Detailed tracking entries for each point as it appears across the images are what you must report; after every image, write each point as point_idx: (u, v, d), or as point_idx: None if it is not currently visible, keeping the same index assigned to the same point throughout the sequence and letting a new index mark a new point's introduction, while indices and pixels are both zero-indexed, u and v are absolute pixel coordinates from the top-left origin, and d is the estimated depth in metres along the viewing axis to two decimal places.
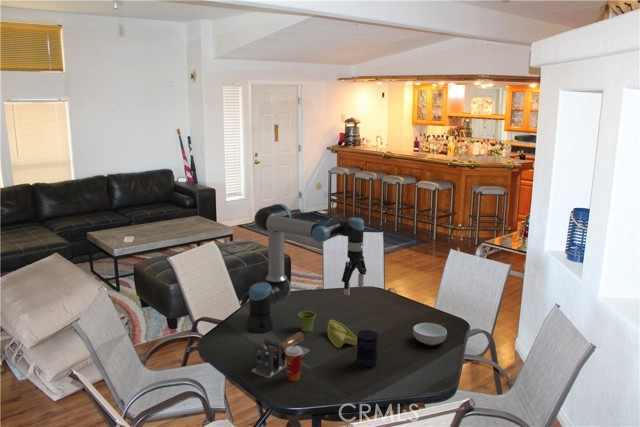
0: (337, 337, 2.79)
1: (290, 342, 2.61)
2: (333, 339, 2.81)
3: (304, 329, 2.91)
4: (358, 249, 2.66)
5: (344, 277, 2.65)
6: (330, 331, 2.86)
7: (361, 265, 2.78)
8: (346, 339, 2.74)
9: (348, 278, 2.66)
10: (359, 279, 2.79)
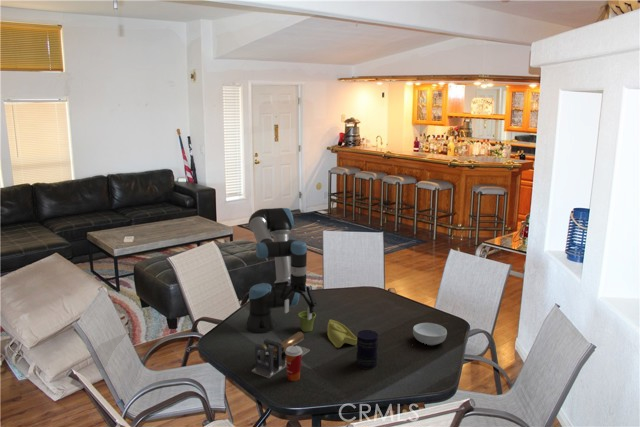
0: (337, 337, 2.79)
1: (290, 342, 2.61)
2: (333, 339, 2.81)
3: (304, 329, 2.91)
4: (291, 272, 2.60)
5: None
6: (330, 331, 2.86)
7: None
8: (346, 339, 2.74)
9: (284, 296, 2.68)
10: None
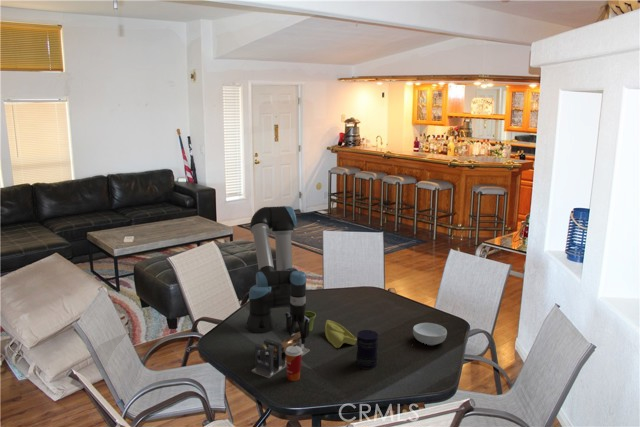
0: (335, 337, 2.79)
1: (290, 342, 2.61)
2: (331, 339, 2.80)
3: None
4: (290, 302, 2.64)
5: None
6: (328, 331, 2.85)
7: None
8: (345, 339, 2.74)
9: (290, 330, 2.70)
10: None
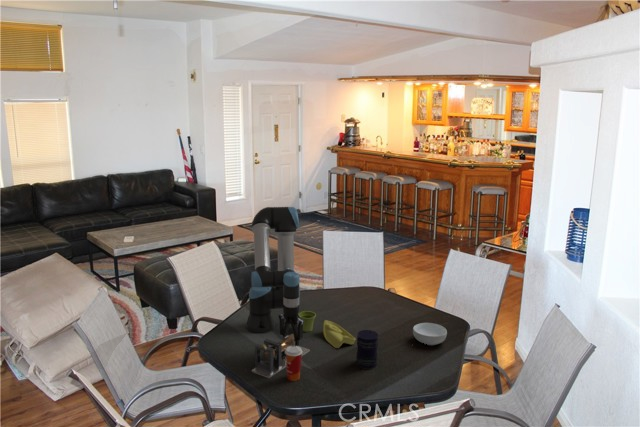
0: (334, 337, 2.79)
1: (283, 345, 2.57)
2: (330, 339, 2.80)
3: (304, 329, 2.91)
4: (283, 303, 2.59)
5: None
6: (326, 332, 2.85)
7: None
8: (345, 339, 2.74)
9: (283, 332, 2.65)
10: None
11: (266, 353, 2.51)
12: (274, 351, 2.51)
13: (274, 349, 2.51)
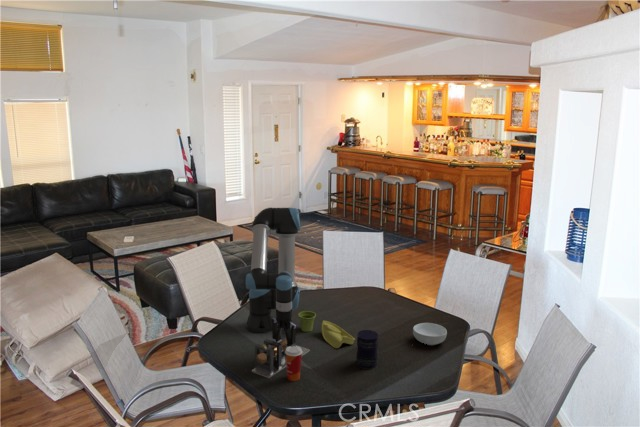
0: (334, 337, 2.79)
1: (275, 349, 2.52)
2: (329, 340, 2.80)
3: (304, 329, 2.91)
4: (276, 307, 2.55)
5: None
6: (325, 332, 2.84)
7: None
8: (344, 339, 2.74)
9: (276, 336, 2.61)
10: None
11: (258, 358, 2.47)
12: (266, 356, 2.46)
13: (266, 354, 2.47)
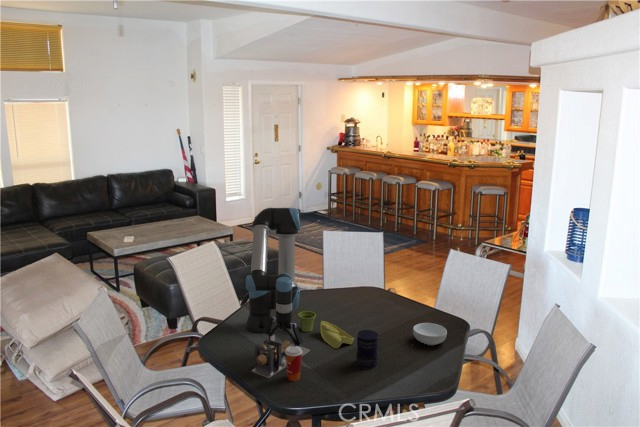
0: (333, 338, 2.78)
1: (275, 351, 2.52)
2: (329, 340, 2.79)
3: (304, 329, 2.91)
4: (276, 309, 2.55)
5: None
6: (323, 332, 2.84)
7: None
8: (344, 339, 2.74)
9: (270, 332, 2.62)
10: None
11: (258, 360, 2.47)
12: (266, 358, 2.47)
13: (266, 356, 2.47)
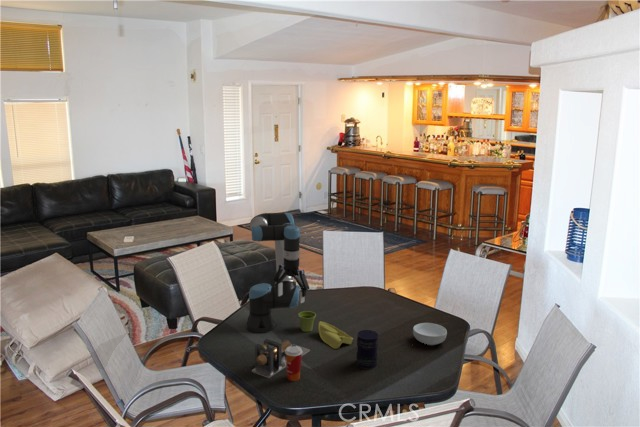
0: (332, 338, 2.78)
1: (275, 351, 2.52)
2: (328, 340, 2.79)
3: (304, 329, 2.91)
4: (284, 256, 2.64)
5: None
6: (322, 333, 2.83)
7: None
8: (343, 339, 2.74)
9: (278, 279, 2.72)
10: None
11: (258, 360, 2.47)
12: (266, 358, 2.47)
13: (266, 356, 2.47)
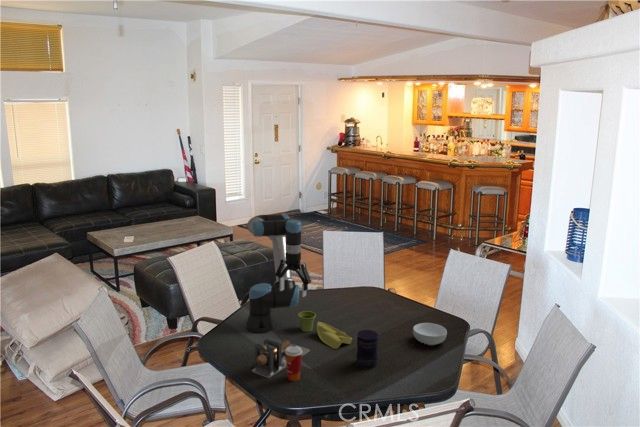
0: (331, 338, 2.78)
1: (275, 351, 2.52)
2: (327, 341, 2.79)
3: (304, 329, 2.91)
4: (286, 250, 2.67)
5: None
6: (321, 333, 2.83)
7: None
8: (343, 339, 2.74)
9: (280, 274, 2.74)
10: None
11: (258, 360, 2.47)
12: (266, 358, 2.47)
13: (266, 356, 2.47)
